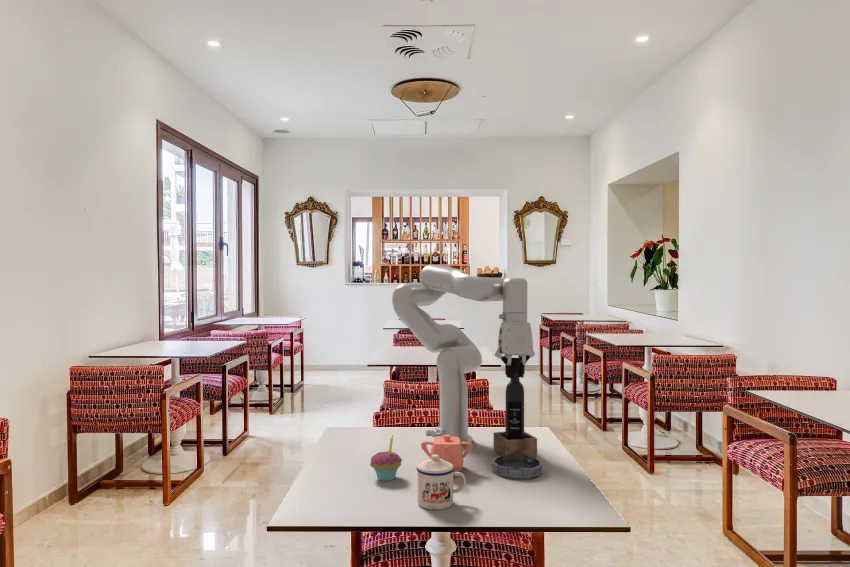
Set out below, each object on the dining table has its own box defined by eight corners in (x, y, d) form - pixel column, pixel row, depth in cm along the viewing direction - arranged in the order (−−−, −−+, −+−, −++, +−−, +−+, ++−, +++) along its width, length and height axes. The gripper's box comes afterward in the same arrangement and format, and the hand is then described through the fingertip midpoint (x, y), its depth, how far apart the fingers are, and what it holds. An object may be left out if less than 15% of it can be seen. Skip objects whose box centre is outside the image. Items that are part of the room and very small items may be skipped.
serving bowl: (504, 481, 154) (504, 472, 154) (484, 465, 167) (484, 456, 167) (551, 476, 158) (551, 467, 158) (528, 461, 171) (528, 452, 171)
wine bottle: (524, 458, 174) (524, 359, 174) (505, 457, 175) (505, 359, 175) (524, 452, 180) (524, 357, 180) (505, 451, 181) (506, 356, 181)
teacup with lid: (418, 511, 134) (418, 461, 134) (414, 497, 143) (414, 450, 143) (469, 509, 135) (469, 460, 135) (462, 494, 144) (462, 448, 144)
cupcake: (406, 474, 159) (406, 431, 159) (394, 485, 151) (394, 439, 151) (377, 471, 162) (377, 429, 162) (364, 481, 154) (364, 436, 154)
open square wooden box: (506, 461, 172) (506, 441, 171) (493, 451, 181) (493, 432, 181) (537, 458, 174) (537, 438, 174) (522, 448, 184) (522, 430, 184)
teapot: (415, 467, 165) (415, 432, 165) (447, 460, 172) (447, 426, 172) (445, 482, 154) (445, 444, 154) (479, 473, 161) (479, 437, 161)
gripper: (495, 319, 172) (495, 380, 172) (544, 318, 176) (544, 378, 176) (485, 317, 179) (485, 376, 179) (533, 316, 183) (533, 374, 184)
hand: (514, 376), depth 178 cm, fingers closed on wine bottle, 3 cm apart
